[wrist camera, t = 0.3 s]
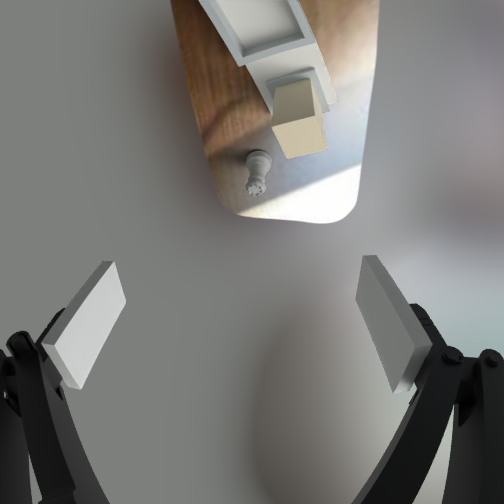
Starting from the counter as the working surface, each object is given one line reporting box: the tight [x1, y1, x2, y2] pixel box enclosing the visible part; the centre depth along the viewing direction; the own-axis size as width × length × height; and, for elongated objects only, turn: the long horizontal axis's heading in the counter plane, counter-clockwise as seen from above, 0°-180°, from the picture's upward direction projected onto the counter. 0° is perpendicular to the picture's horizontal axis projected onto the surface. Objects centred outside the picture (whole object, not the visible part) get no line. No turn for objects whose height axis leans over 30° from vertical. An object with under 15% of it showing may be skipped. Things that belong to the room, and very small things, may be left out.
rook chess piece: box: [246, 151, 272, 197], centre depth 49 cm, size 4×4×8 cm
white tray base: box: [198, 0, 338, 159], centre depth 29 cm, size 22×10×12 cm, turn 25°
